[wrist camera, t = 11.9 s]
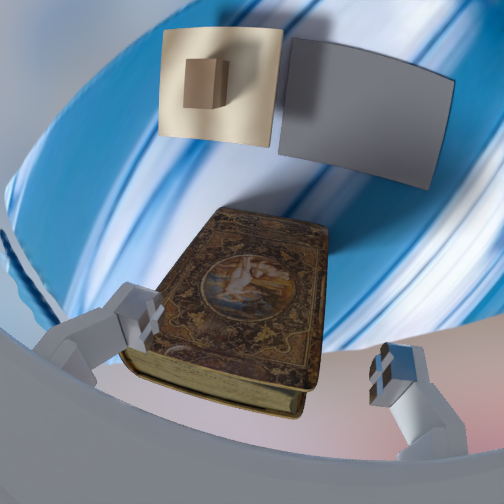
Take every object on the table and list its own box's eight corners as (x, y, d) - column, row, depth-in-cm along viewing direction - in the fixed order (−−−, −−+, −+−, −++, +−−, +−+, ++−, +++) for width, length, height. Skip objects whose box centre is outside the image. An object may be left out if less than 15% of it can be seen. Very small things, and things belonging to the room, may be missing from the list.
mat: (452, 81, 24) (454, 81, 24) (427, 189, 32) (428, 190, 32) (293, 38, 27) (292, 37, 26) (278, 153, 35) (277, 154, 35)
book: (212, 238, 44) (126, 372, 24) (212, 205, 41) (110, 335, 21) (320, 258, 42) (302, 421, 21) (328, 225, 39) (318, 391, 18)
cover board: (283, 30, 23) (276, 21, 19) (269, 146, 30) (260, 156, 26) (167, 30, 24) (144, 26, 21) (161, 134, 32) (140, 143, 28)
